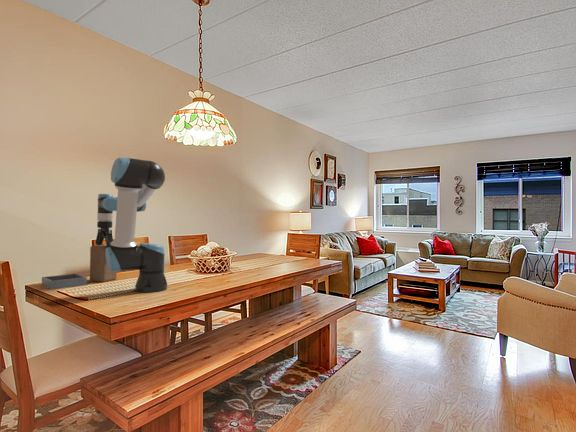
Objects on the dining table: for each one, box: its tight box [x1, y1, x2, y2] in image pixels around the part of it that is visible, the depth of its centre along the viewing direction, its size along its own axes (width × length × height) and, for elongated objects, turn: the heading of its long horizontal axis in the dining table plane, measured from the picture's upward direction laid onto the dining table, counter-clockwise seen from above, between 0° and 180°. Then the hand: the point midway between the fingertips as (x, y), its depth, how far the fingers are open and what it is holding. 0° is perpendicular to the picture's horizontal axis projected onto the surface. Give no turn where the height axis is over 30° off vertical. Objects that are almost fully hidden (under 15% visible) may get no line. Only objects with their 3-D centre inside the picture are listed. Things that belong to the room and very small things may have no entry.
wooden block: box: [89, 244, 118, 283], centre depth 187 cm, size 10×10×20 cm
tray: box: [41, 273, 88, 291], centre depth 173 cm, size 16×16×4 cm
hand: (104, 258), depth 187 cm, fingers open, 13 cm apart
